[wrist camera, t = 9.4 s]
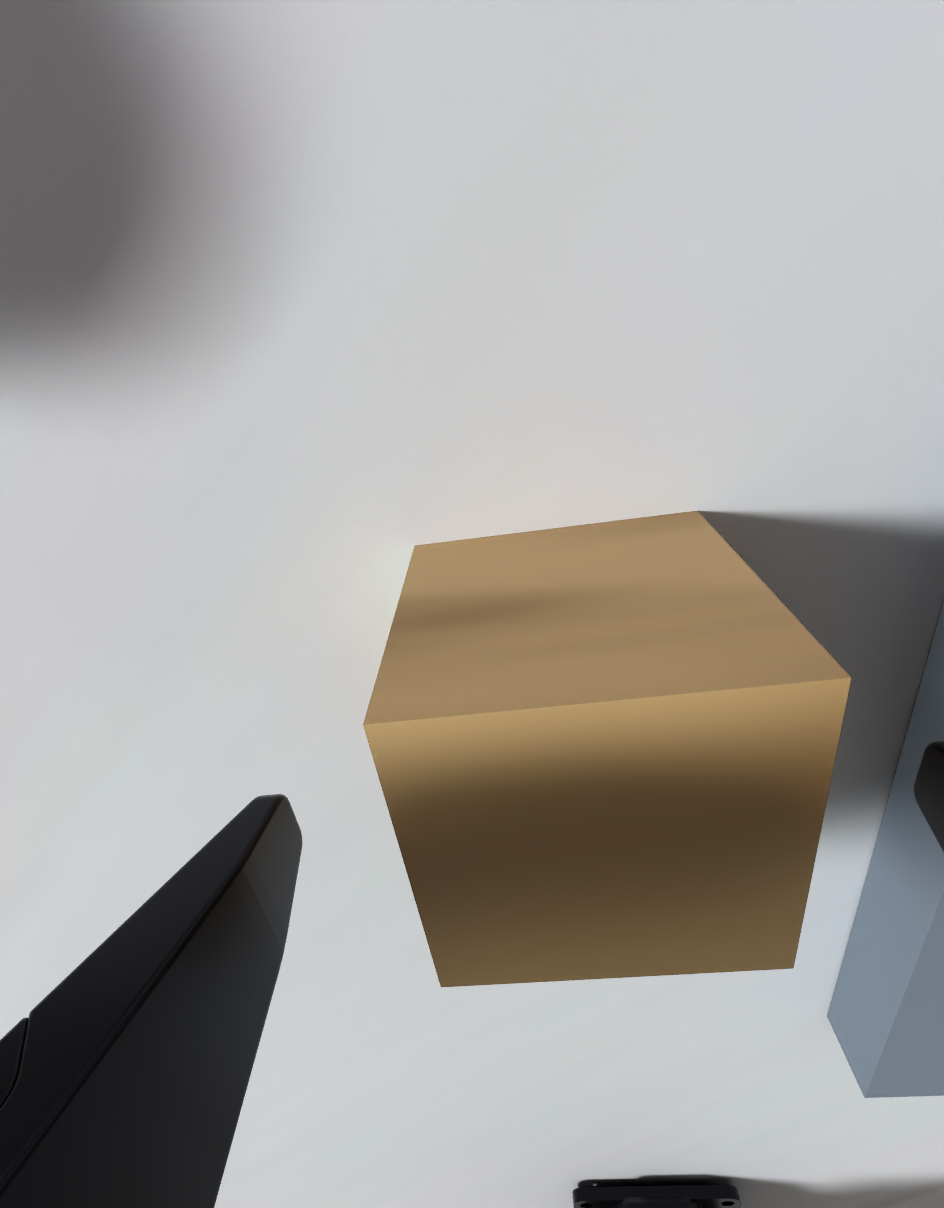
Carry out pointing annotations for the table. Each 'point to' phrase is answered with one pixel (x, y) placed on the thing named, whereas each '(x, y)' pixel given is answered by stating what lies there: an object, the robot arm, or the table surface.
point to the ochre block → (603, 754)
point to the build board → (900, 930)
